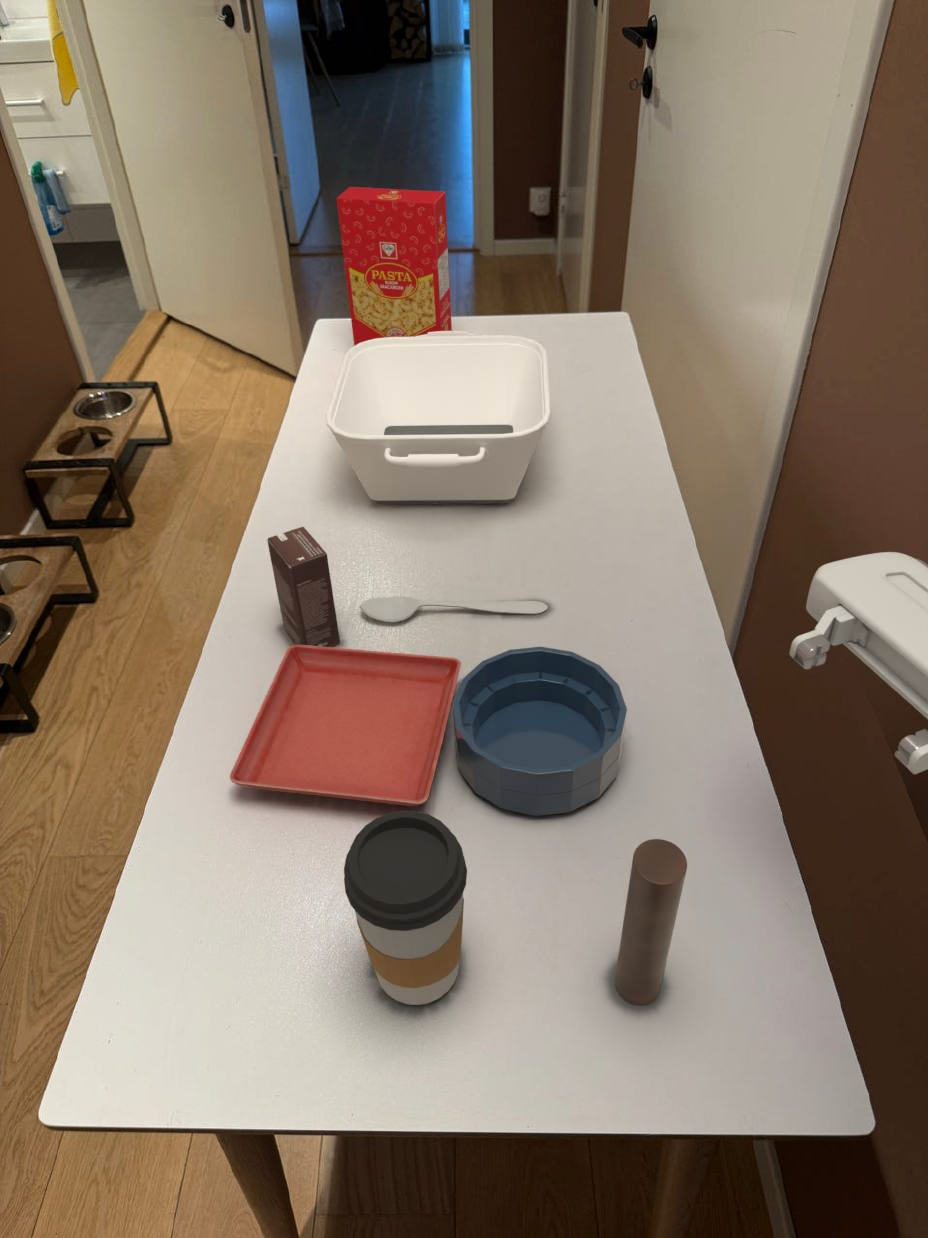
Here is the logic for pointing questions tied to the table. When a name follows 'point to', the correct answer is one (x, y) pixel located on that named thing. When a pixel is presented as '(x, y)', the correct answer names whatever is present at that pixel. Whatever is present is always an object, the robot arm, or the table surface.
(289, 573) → the box
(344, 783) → the plant saucer
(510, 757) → the bowl
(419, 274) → the food packaging
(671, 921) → the brown cylinder
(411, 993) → the coffee cup
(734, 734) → the table surface
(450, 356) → the tub
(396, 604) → the spoon
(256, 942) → the table surface
